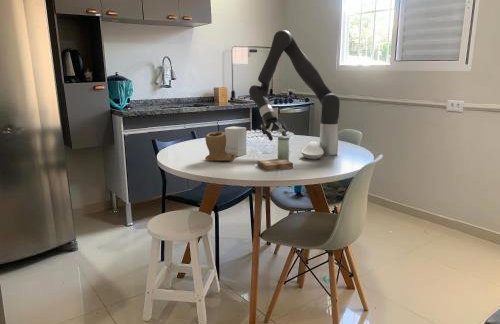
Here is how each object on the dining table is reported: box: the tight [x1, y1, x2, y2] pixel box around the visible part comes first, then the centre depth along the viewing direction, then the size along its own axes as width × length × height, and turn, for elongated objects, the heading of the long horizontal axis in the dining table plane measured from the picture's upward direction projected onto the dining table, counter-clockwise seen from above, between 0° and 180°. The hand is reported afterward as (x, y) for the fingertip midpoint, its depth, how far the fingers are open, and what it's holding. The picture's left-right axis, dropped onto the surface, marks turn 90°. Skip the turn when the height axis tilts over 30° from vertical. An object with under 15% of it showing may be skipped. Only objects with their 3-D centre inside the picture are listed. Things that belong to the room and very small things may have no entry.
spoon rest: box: [300, 141, 324, 160], centre depth 207 cm, size 24×12×7 cm, turn 169°
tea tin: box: [277, 135, 290, 161], centre depth 195 cm, size 6×6×12 cm
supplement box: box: [224, 125, 247, 157], centre depth 208 cm, size 9×9×15 cm
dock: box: [257, 158, 294, 172], centre depth 183 cm, size 14×10×3 cm
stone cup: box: [204, 131, 237, 162], centre depth 193 cm, size 15×12×15 cm
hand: (278, 139), depth 198 cm, fingers open, 8 cm apart
